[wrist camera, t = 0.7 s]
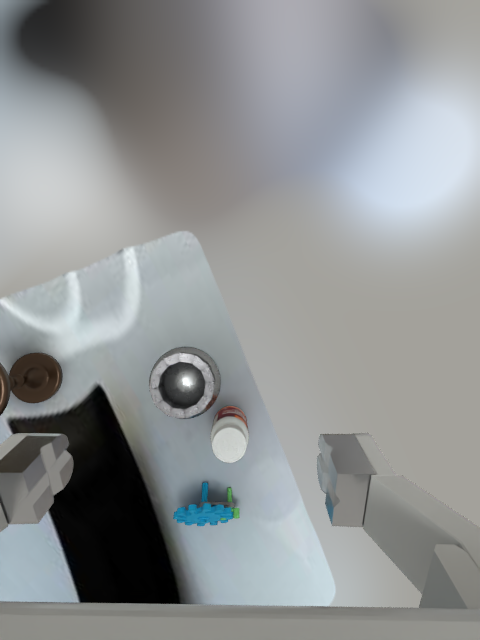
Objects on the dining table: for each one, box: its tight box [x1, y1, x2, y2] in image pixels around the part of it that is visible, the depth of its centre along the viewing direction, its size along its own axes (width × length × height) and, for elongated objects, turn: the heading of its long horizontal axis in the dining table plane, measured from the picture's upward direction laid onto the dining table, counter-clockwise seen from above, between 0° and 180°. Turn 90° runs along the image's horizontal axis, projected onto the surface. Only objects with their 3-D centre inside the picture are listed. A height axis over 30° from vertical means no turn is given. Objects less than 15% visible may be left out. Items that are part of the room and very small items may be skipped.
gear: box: [173, 483, 239, 526], centre depth 49 cm, size 11×6×10 cm
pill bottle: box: [211, 406, 249, 463], centre depth 47 cm, size 6×6×11 cm
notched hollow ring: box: [149, 347, 220, 419], centre depth 50 cm, size 13×13×4 cm
